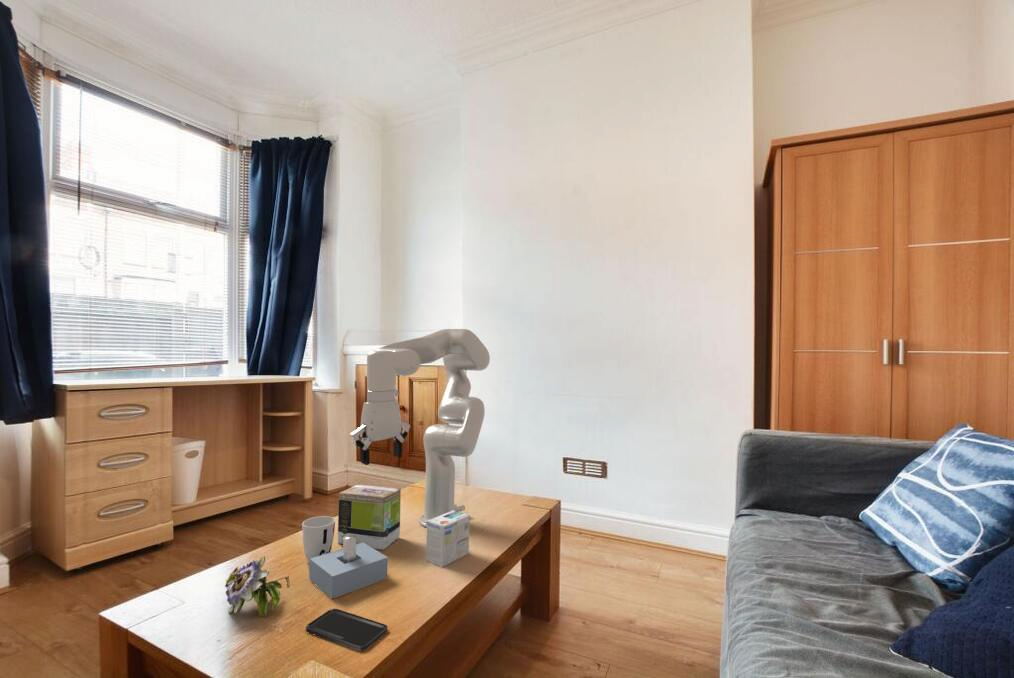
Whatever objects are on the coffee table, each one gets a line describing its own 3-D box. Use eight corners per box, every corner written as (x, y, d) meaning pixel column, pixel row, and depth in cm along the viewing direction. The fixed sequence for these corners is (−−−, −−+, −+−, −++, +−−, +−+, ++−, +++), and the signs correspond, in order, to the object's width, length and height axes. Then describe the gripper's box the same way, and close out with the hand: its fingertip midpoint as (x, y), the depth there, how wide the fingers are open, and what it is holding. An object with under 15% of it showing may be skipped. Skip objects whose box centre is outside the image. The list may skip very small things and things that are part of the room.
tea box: (400, 537, 136) (402, 487, 137) (382, 551, 127) (384, 497, 127) (356, 531, 141) (358, 482, 141) (336, 544, 131) (337, 491, 131)
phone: (333, 607, 97) (390, 625, 91) (332, 612, 97) (389, 631, 91) (302, 627, 90) (362, 649, 84) (302, 633, 90) (362, 655, 84)
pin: (351, 574, 113) (352, 533, 114) (357, 579, 111) (358, 537, 111) (339, 578, 111) (341, 537, 111) (345, 583, 109) (347, 540, 109)
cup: (322, 568, 116) (323, 528, 116) (294, 564, 118) (295, 525, 118) (340, 554, 124) (341, 517, 124) (313, 551, 126) (314, 514, 126)
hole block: (362, 561, 120) (363, 542, 120) (387, 578, 112) (387, 557, 112) (309, 579, 110) (309, 558, 110) (331, 599, 102) (332, 576, 102)
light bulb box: (451, 547, 130) (452, 509, 131) (469, 553, 127) (470, 514, 127) (424, 560, 122) (425, 519, 122) (443, 568, 118) (444, 525, 118)
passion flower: (232, 638, 96) (210, 585, 99) (282, 605, 105) (260, 557, 108) (250, 626, 90) (226, 569, 93) (301, 592, 99) (277, 542, 101)
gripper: (401, 392, 131) (401, 451, 132) (344, 398, 119) (344, 464, 119) (416, 394, 126) (416, 456, 126) (358, 401, 114) (358, 470, 114)
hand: (381, 460), depth 123 cm, fingers open, 9 cm apart
